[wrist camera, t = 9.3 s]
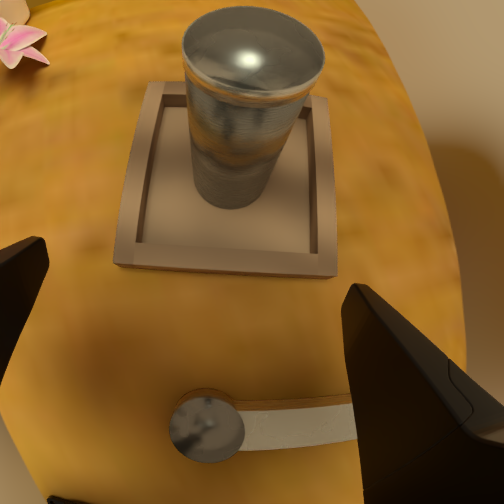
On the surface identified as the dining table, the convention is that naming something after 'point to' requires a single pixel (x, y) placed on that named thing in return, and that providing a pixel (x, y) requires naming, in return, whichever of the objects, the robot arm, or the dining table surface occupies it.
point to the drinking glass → (14, 11)
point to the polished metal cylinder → (244, 96)
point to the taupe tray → (223, 220)
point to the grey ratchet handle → (256, 424)
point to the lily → (19, 43)
